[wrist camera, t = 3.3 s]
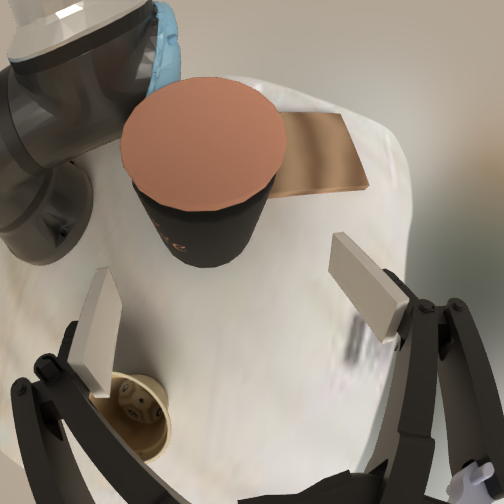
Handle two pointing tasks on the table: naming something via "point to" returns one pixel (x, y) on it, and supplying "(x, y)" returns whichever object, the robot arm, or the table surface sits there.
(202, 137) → the coffee jar
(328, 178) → the walnut board
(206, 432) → the table surface
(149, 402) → the flower pot
